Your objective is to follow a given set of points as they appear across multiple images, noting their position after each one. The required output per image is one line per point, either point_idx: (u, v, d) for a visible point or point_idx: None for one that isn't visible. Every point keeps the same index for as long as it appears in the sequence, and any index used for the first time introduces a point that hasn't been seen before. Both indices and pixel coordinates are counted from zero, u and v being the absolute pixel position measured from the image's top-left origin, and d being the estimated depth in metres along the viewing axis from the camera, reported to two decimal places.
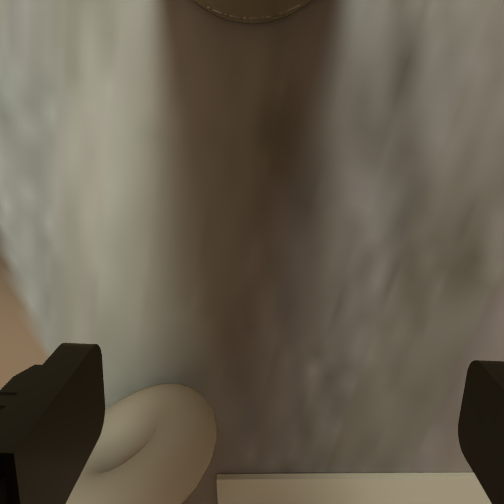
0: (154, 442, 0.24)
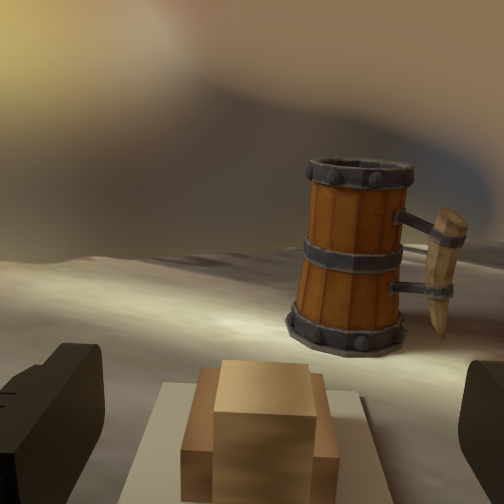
0: None
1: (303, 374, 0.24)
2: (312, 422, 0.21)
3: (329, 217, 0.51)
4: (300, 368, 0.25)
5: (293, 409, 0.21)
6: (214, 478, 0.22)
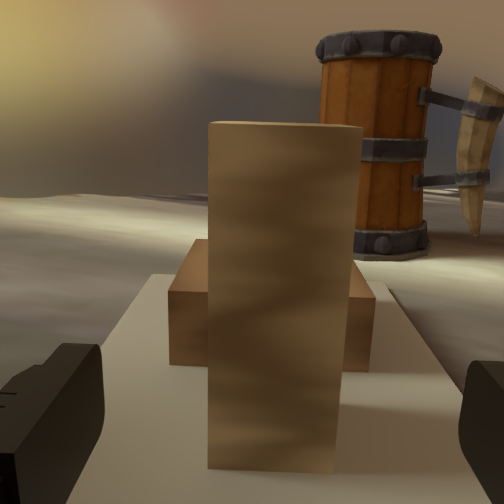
0: None
1: None
2: (357, 138, 0.14)
3: (344, 97, 0.44)
4: (330, 124, 0.18)
5: None
6: (211, 241, 0.15)
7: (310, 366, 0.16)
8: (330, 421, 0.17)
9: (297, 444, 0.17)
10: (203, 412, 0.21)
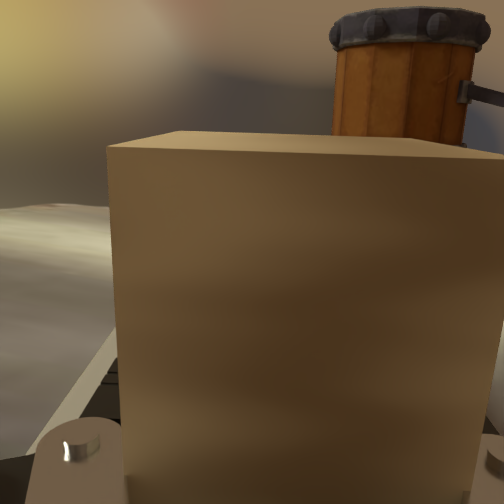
0: None
1: (409, 140, 0.08)
2: None
3: (365, 92, 0.35)
4: (395, 138, 0.09)
5: (424, 153, 0.05)
6: (128, 432, 0.06)
7: None
8: None
9: None
10: None
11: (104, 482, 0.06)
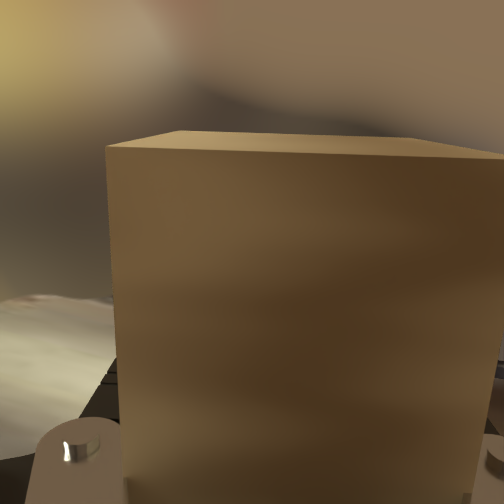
0: None
1: (409, 140, 0.08)
2: None
3: None
4: (395, 139, 0.09)
5: (424, 154, 0.05)
6: (128, 433, 0.06)
7: None
8: None
9: None
10: None
11: (104, 482, 0.06)
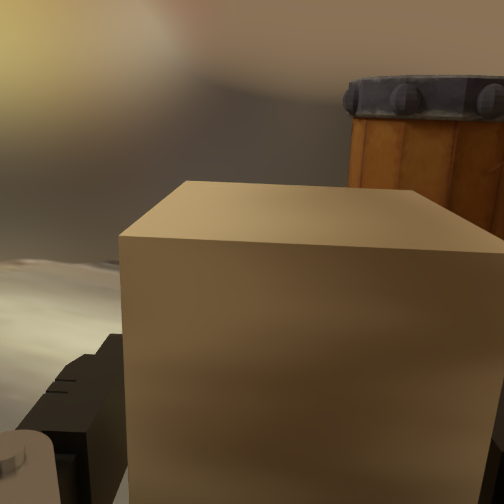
0: None
1: (410, 199, 0.09)
2: None
3: (392, 180, 0.27)
4: (397, 194, 0.09)
5: (423, 240, 0.06)
6: (136, 497, 0.06)
7: None
8: None
9: None
10: None
11: (20, 501, 0.06)
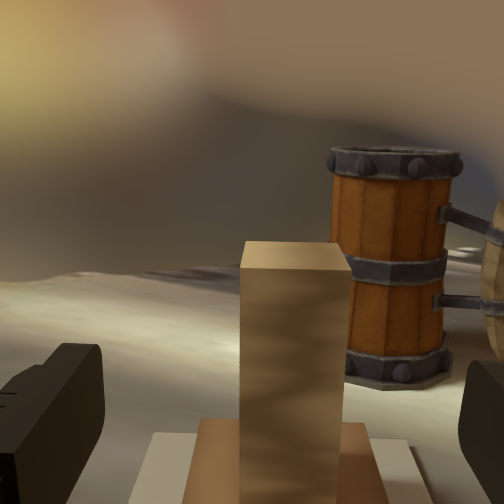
0: None
1: (333, 248, 0.23)
2: (347, 277, 0.20)
3: (358, 216, 0.41)
4: (329, 245, 0.23)
5: (325, 266, 0.20)
6: (241, 347, 0.21)
7: (316, 435, 0.21)
8: (332, 476, 0.22)
9: (307, 493, 0.22)
10: None
11: None
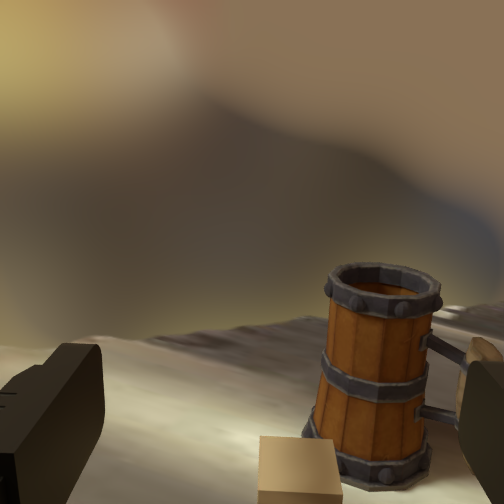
0: None
1: (329, 450, 0.29)
2: (339, 499, 0.26)
3: (351, 342, 0.47)
4: (326, 445, 0.29)
5: (323, 487, 0.26)
6: None
7: None
8: None
9: None
10: None
11: None
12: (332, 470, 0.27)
